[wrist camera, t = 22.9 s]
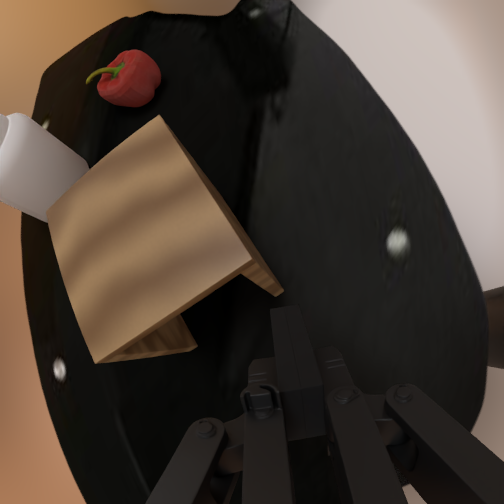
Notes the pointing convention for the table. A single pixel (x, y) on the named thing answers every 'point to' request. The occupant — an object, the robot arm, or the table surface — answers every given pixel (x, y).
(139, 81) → the vegetable
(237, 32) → the table surface
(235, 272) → the cubby
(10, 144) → the white jar
